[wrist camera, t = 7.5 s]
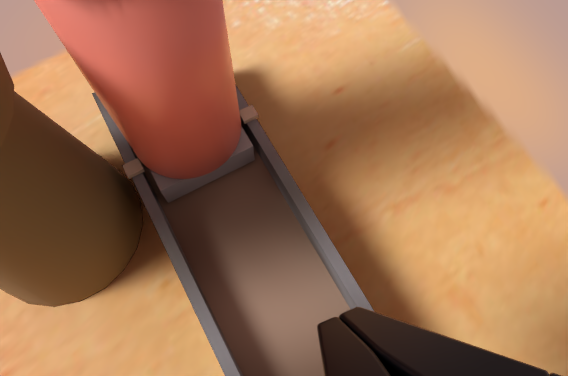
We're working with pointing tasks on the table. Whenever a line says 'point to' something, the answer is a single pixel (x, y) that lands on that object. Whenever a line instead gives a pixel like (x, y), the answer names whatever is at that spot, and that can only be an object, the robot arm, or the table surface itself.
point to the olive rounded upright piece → (58, 209)
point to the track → (250, 259)
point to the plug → (161, 82)
